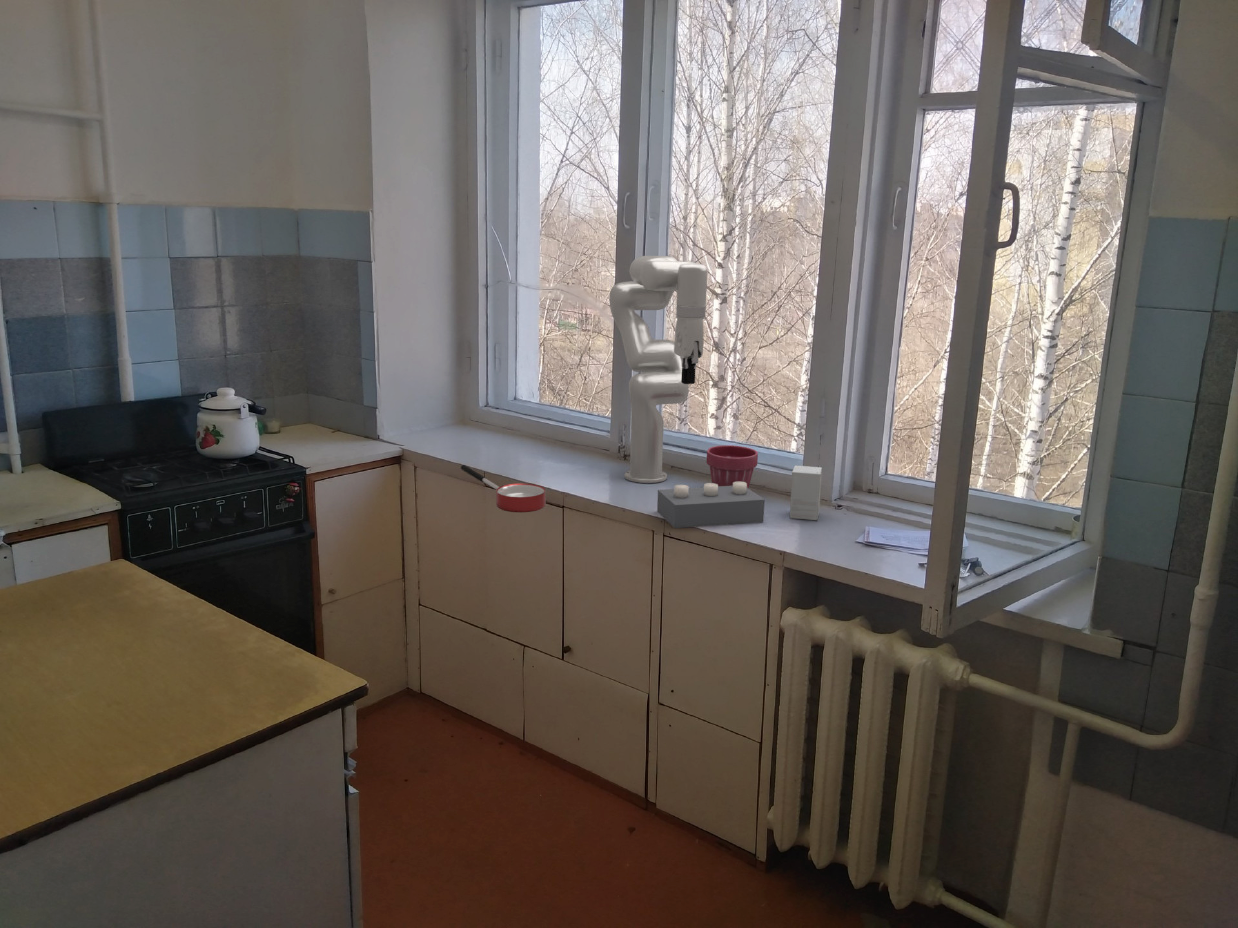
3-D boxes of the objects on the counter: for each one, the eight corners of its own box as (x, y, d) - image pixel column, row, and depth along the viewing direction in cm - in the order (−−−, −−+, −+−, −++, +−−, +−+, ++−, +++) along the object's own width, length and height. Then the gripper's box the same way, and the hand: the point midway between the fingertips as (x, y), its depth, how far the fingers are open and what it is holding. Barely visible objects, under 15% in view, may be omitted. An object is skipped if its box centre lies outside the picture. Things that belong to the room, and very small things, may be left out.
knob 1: (671, 511, 246) (672, 485, 244) (684, 510, 247) (685, 484, 245) (676, 515, 243) (677, 488, 241) (689, 514, 244) (690, 488, 242)
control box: (657, 511, 251) (657, 489, 249) (742, 506, 257) (743, 485, 256) (674, 528, 238) (675, 505, 236) (763, 522, 244) (764, 499, 243)
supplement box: (819, 513, 253) (823, 467, 250) (817, 521, 246) (821, 473, 243) (791, 510, 255) (794, 464, 252) (788, 518, 248) (791, 471, 245)
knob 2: (700, 509, 248) (702, 483, 247) (713, 508, 249) (715, 482, 248) (705, 513, 245) (706, 487, 243) (718, 512, 246) (720, 486, 244)
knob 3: (729, 507, 250) (730, 481, 249) (742, 507, 251) (743, 481, 250) (734, 511, 247) (736, 485, 245) (747, 511, 248) (749, 484, 246)
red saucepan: (438, 492, 264) (438, 470, 263) (473, 483, 274) (473, 462, 273) (521, 516, 245) (521, 492, 243) (555, 505, 255) (555, 482, 253)
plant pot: (746, 505, 259) (749, 459, 255) (697, 498, 264) (699, 453, 261) (761, 492, 271) (764, 448, 268) (714, 485, 277) (716, 442, 274)
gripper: (667, 310, 251) (665, 379, 256) (686, 315, 237) (684, 388, 242) (694, 310, 253) (691, 378, 258) (715, 315, 239) (711, 388, 244)
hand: (688, 383), depth 250 cm, fingers closed
